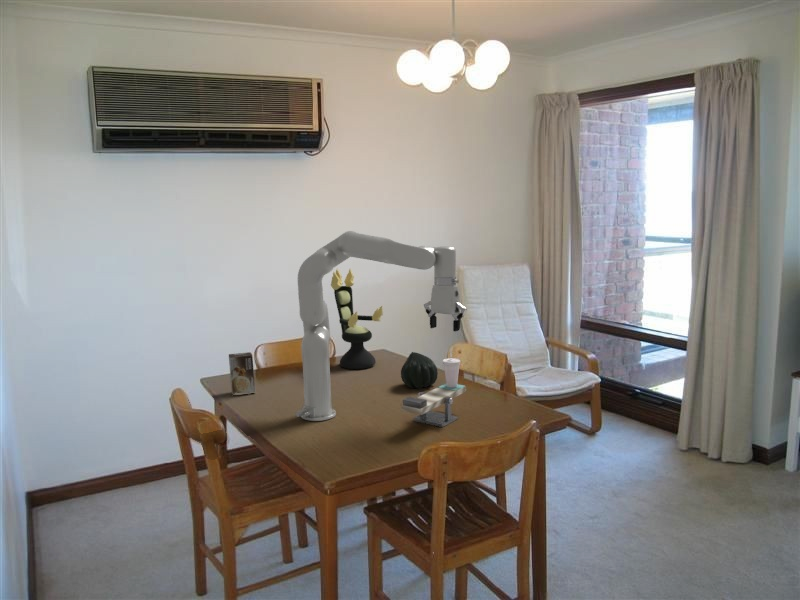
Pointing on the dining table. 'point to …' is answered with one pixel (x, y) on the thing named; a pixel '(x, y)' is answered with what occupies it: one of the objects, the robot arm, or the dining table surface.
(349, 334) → the toy throne chair
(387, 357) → the dining table surface
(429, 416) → the pivot stand
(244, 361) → the coffee box
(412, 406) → the beam
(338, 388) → the dining table surface
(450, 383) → the smoothie
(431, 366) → the squash
